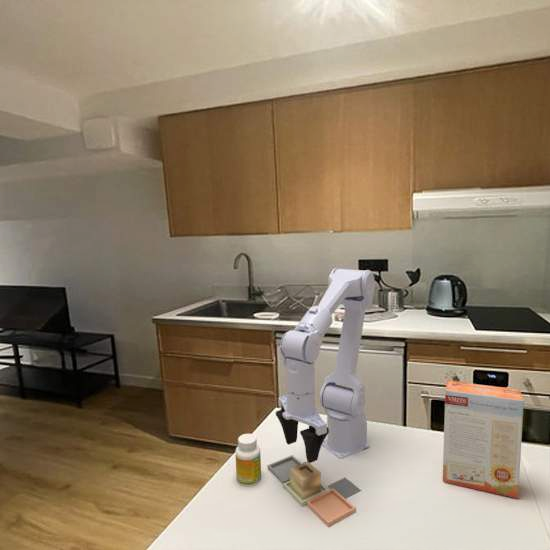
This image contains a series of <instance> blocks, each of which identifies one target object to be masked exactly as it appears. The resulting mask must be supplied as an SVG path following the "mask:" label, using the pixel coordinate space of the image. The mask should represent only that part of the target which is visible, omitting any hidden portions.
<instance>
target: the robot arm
mask: <svg viewBox="0 0 550 550" xmlns="http://www.w3.org/2000/svg"><path fill="white" fill-rule="evenodd" d="M375 288H376V281H375V275H374V273H373V272H372V271H371V270H370V269H366V270H362V269H361V270H360V269H347V268H339V267H334V268H333V269H332V270H331V272H330V273H329V275H328V279H327V289H326V291H325V293H324V294H323V296H322V297H321V300H320V301H319V303H318V305H313V306H311V307H310V308H308V309H307V311H306V312H305V314H304V315H303V317H302V318H301V319H300V321H299V322H298V323H297V325H296V326H295V328H294V329H291V330H288V331H286V332H285V333H284V334H283V335H282V337H281V340H280V346H279V347H278V350H279V353H280V356H281V357H282V362H283V363H282V365H283V366H284V367H285V377H286V381H285V382H286V384H285V385H286V387H285V388H286V395H283V396H279V397H278V399H277V401H278V407H280V410H276V412H275V416H276V417H277V419H278V422H279V423H280V425H281V428H282V431H283V435H284V439H285V443H286V444H287V445H291V444H295V443H296V442H297V440H298V432H299V434H300V435H301V437H302V440H303V443H304V448H305V457H306V462H307V461H308V462H309V463H310V464H311V463H313V462H317V461H318V459H319V455H320V451H321V447H323V448H325V449H326V450H327V451H329V452H330V453H332V454H333V455H334V456H335V457H337V458H338V459H339V460H342V459H344V458H347V457H349V456H351V455H353V454H356V453H359V452H360V451H363V450H364V449H367V448H370V444H369V443H368V438H367V437H368V422H367V417H366V414H365V413H364V408H365V406H366V397H365V390H366V388H365V387H366V385H365V384H364V382H362V380H361V379H360V378H359V377H358V376H357V374H356V372H357V367H358V360H359V353H360V348H361V340H362V334H363V327H364V321H365V315H366V309H367V308H368V307H371V306H372V304H373V301H374V295H375V294H374V293H375ZM341 304H342V305H343V307H344V312H343V313H344V314H343V320H342V327H341V333H340V337H339V343H338V349H337V350H338V351H337V357H336V363H335V369H334V371H333V372H332V373H330V374H328V375H326V376H325V377H324V380H323V384H322V387H321V388H320V392H319V397H318V398H319V403H320V406H321V407H322V408H324V413H325V414H326V415H327V416H326V422H325V420H323V418H322V416H321V415H320V413H319V412H318V410H317V409H316V398H315V397H316V394H315V393H316V390H315V387H316V386H315V378H316V377H315V376H316V374H315V361H316V360H317V359H318V358H319V355H320V351H321V347H322V344H323V338H324V337H325V334H326V333H327V332H328V330H329V328H330V327H331V325H332V324H333V316H332V315H333V314H334V313H335V311H336V310H337V309H338V308H339V306H340V305H341ZM299 423H302V424H304V425H307V426H308V428H306V429H303V430H300V431H298V429H299ZM325 438H326V439H325Z"/></svg>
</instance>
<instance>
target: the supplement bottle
mask: <svg viewBox="0 0 550 550" xmlns="http://www.w3.org/2000/svg"><path fill="white" fill-rule="evenodd" d="M257 441H258V440H257V436H256V435H255V434H252V433H243V434H241V435H240V436H238V438H237V445H238V446H236V448H235V471H236V472H235V473H236V474H235V475H236V482H237V483H238V484H239V485H240V486H243V487H253V486H255V485H258V484H259V483H260V482H261V480H262V461H261V459H262V458H261V448H260V446H259V445H258V443H257Z"/></svg>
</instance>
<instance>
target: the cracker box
mask: <svg viewBox="0 0 550 550" xmlns="http://www.w3.org/2000/svg"><path fill="white" fill-rule="evenodd" d="M445 383H446V384H445V398H444V424H443V453H442V454H443V455H442V481H443V482H444V483H448V484H452V485H456V486H460V487H465V488H470V489H475V490H479V491H483V492H488V493H491V494H497V495H501V496H506V497H509V498H514V499H518V498H519V490H520V473H521V472H520V470H521V456H522V455H521V453H522V437H523V420H524V419H523V417H524V406H525V405H524V404H525V403H524V401H525V400H524V398H523V396H522V395H523V394H522V393H521V390H520V389H519V388H518V389H517V388H512V387H511V388H510V387H501V386H495V385H486V384H477V383H471V382H464V381H463V382H462V381H457V380H456V381H454V380H449V379H448V380H446V382H445Z"/></svg>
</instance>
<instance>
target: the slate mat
mask: <svg viewBox="0 0 550 550" xmlns="http://www.w3.org/2000/svg"><path fill="white" fill-rule="evenodd" d="M326 488H328V489H329V490H330V489H332V488H333V489H334V490H336V491H337V492H338V493H339V494H340V495H341V496H343V497H344V498H345V499H346V500H347V499H348V498H351V497H352V496H354V495H356V494H357V493H360V492H361V491H362V490H361V489H360V488H359V487H358V486H357V485H355V484H354V483H353V482H351V480H349V479H348V478H346V477H343V478H341V479H339V480H336V481H335V482H333V483H331V484H328V485H327V487H326Z"/></svg>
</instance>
